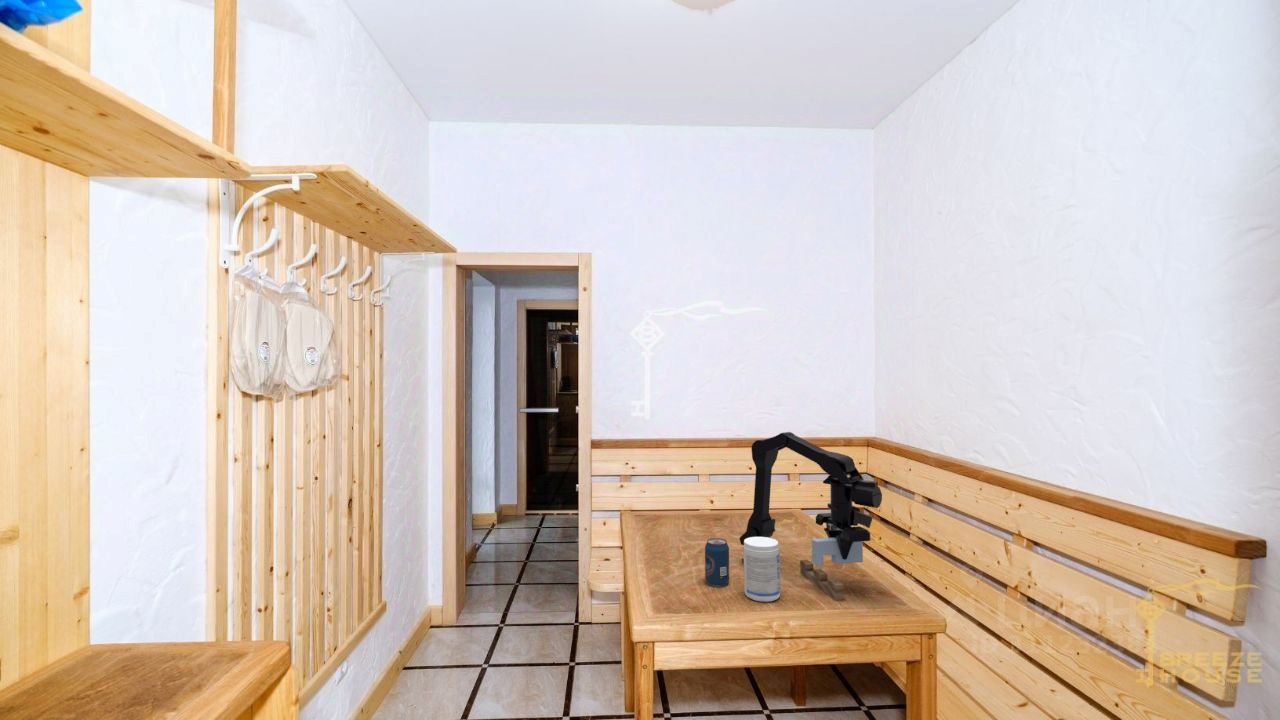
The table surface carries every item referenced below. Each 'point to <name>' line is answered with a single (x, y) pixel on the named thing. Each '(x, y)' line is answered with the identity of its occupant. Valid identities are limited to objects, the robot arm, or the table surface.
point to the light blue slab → (835, 551)
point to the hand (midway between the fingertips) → (841, 557)
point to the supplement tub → (761, 569)
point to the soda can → (717, 562)
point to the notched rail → (822, 580)
